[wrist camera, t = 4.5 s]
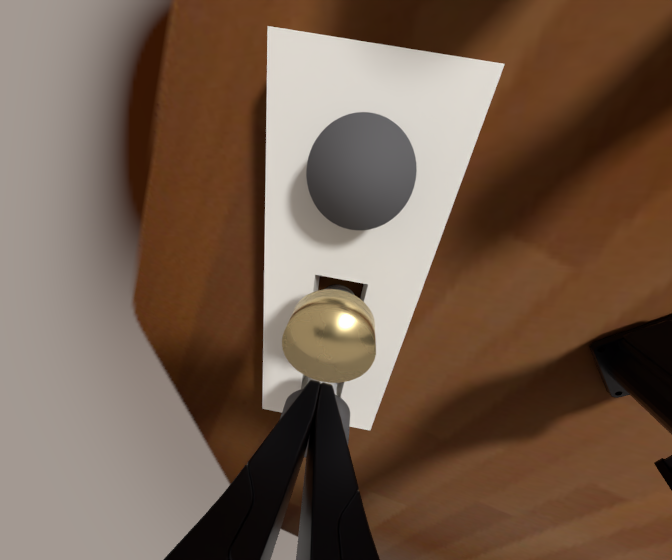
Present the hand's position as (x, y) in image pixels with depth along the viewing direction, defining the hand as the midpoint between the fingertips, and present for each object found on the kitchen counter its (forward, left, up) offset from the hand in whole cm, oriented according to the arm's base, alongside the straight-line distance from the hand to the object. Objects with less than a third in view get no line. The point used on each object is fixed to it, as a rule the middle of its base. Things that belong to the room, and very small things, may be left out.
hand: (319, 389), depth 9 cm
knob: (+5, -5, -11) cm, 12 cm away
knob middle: (-1, +1, -8) cm, 8 cm away
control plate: (-1, +1, -11) cm, 11 cm away
